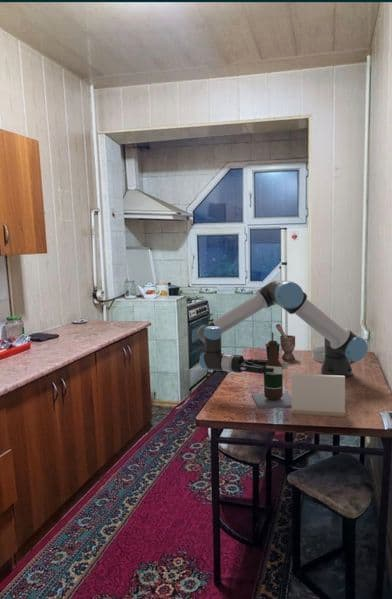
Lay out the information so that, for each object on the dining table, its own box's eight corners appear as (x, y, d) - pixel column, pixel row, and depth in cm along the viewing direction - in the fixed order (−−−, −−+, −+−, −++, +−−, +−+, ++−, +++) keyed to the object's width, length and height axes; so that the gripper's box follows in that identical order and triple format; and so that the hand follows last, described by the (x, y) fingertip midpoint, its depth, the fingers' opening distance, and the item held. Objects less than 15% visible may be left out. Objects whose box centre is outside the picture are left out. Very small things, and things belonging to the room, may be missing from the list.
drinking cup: (280, 371, 238) (279, 334, 236) (265, 371, 240) (264, 333, 238) (280, 367, 246) (280, 331, 244) (266, 367, 247) (265, 331, 245)
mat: (287, 394, 202) (287, 392, 202) (297, 406, 186) (297, 404, 186) (251, 395, 201) (251, 393, 201) (258, 408, 186) (258, 406, 186)
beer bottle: (263, 393, 198) (262, 339, 195) (281, 393, 197) (280, 339, 195) (265, 399, 190) (264, 343, 187) (284, 399, 190) (283, 342, 187)
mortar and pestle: (274, 359, 264) (273, 325, 262) (276, 356, 272) (276, 323, 270) (294, 360, 260) (294, 326, 258) (296, 357, 268) (296, 323, 266)
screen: (344, 411, 179) (344, 374, 178) (345, 416, 174) (345, 378, 172) (292, 408, 184) (291, 372, 183) (291, 413, 179) (291, 376, 177)
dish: (349, 354, 271) (350, 346, 270) (355, 364, 249) (355, 355, 249) (311, 354, 275) (311, 346, 275) (313, 363, 254) (313, 354, 253)
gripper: (242, 366, 210) (291, 370, 199) (224, 377, 192) (277, 383, 181) (241, 350, 209) (291, 353, 199) (224, 360, 191) (277, 365, 181)
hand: (284, 368), depth 190 cm, fingers open, 7 cm apart
